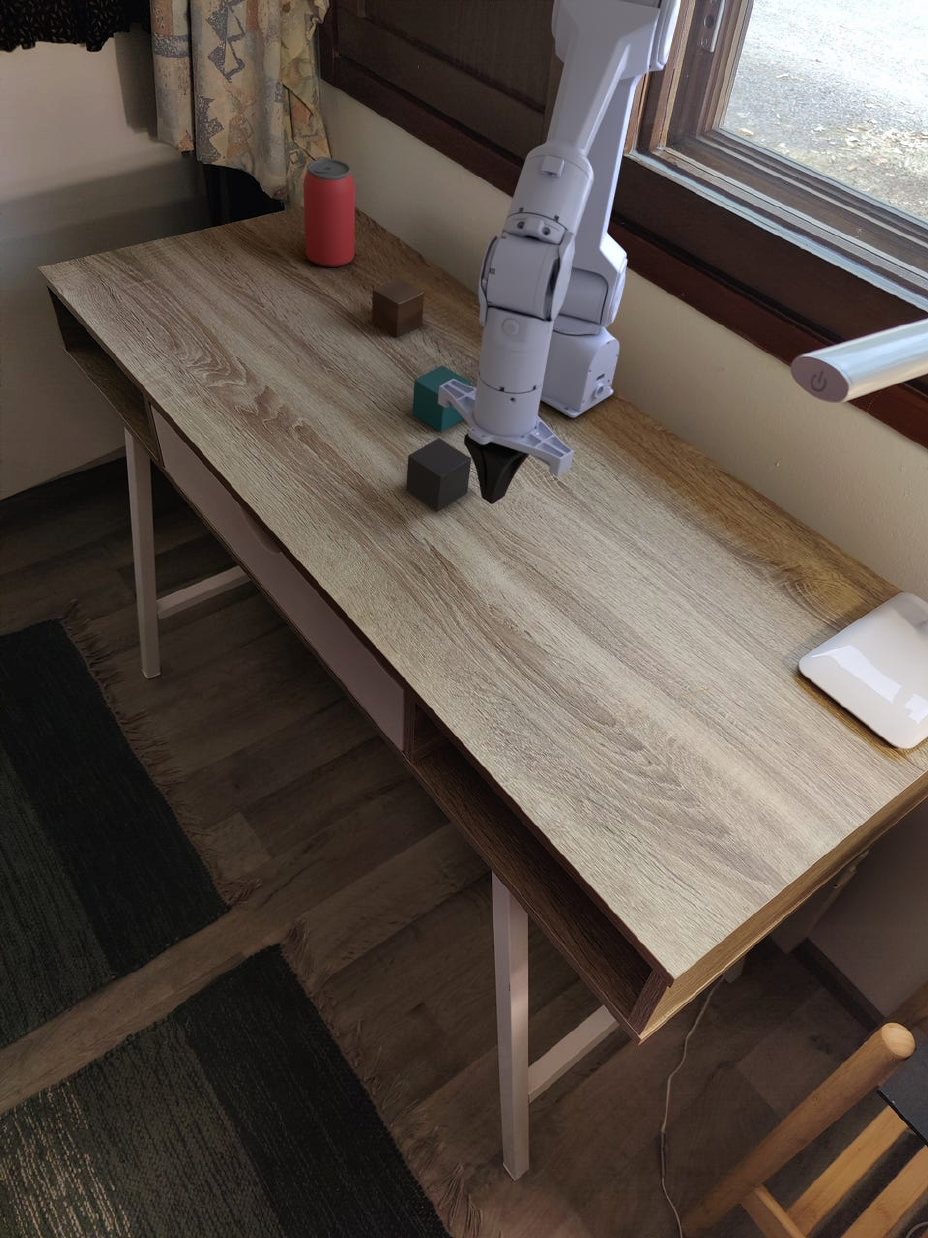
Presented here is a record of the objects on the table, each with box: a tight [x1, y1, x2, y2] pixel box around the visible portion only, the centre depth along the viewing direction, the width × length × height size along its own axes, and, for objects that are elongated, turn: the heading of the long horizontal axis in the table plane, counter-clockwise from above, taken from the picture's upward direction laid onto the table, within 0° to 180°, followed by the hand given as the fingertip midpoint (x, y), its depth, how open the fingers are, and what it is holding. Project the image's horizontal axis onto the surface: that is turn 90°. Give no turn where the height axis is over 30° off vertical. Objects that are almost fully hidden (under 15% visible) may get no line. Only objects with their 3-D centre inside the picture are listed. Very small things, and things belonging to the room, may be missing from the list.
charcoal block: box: [405, 437, 472, 513], centre depth 96 cm, size 4×4×4 cm
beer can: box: [302, 158, 356, 268], centre depth 126 cm, size 7×7×12 cm
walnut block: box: [371, 278, 425, 338], centre depth 118 cm, size 4×4×4 cm
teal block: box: [411, 365, 473, 433], centre depth 106 cm, size 4×4×4 cm
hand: (493, 496), depth 92 cm, fingers closed
